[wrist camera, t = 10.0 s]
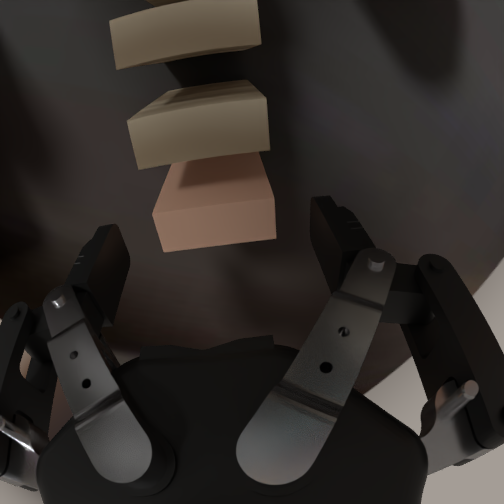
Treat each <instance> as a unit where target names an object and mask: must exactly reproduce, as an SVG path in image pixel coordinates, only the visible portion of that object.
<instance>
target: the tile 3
mask: <svg viewBox="0 0 504 504" xmlns="http://www.w3.org/2000/svg"><path fill="white" fill-rule="evenodd" d="M109 22H110V30H111V37H112V44H113V51H114V57H115V63H116V69H117V70H119V69H125V68H130V67H136V66H143V65H149V64H157V63H165V62H169V61H174V60H179V59H185V58H190V57H196V56H202V55H209V54H216V53H224V52H233V51H244V50H247V49H249V48H252V47H255V46H258V45H261V35H260V24H259V14H258V5H257V0H189V1H184V2H178V3H173V4H169V5H164V6H160V7H155V8H151V9H147V10H144V11H140V12H136V13H133V14H129V15H126V16H123V17H120V18H117V19H114V20H111V21H109Z"/></svg>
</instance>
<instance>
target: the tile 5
mask: <svg viewBox="0 0 504 504" xmlns="http://www.w3.org/2000/svg"><path fill="white" fill-rule="evenodd" d="M152 215H153V218H154V222H155V225H156V228H157V232H158V235H159V238H160V241H161V245H162V248H163V251H164V252H171V251H178V250H186V249H194V248H202V247H211V246H219V245H227V244H235V243H243V242H252V241H260V240H269V239H276V221H275V200H274V195H273V192H272V189H271V186H270V183H269V181H268V178H267V175H266V172H265V169H264V166H263V163H262V160H261V157H260V155H259V152H249V153H241V154H232V155H225V156H217V157H210V158H203V159H197V160H190V161H184V162H178V163H172V165H171V167H170V170H169V172H168V175H167V177H166V180H165V182H164V185H163V187H162V190H161V192H160V195H159V197H158V200H157V203H156V205H155V208H154V211H153V213H152Z"/></svg>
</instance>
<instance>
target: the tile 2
mask: <svg viewBox="0 0 504 504" xmlns="http://www.w3.org/2000/svg"><path fill="white" fill-rule="evenodd" d="M146 1H147V2H149V3H150V4H152V5H153V6H155V7H160V6H164V5H169V4H173V3H178V2H184V1H189V0H146Z"/></svg>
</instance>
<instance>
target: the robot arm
mask: <svg viewBox="0 0 504 504" xmlns="http://www.w3.org/2000/svg"><path fill="white" fill-rule="evenodd" d="M310 237H311V242H312V245H313V248H314V250H315V253H316V255H317V258H318V260H319V263H320V265H321V268H322V270H323V273H324V275H325V278H326V281H327V283H328V286H329V288H330V291H331V294H332V295H331V297H330V299H329V300H328V302H327V304H326V306H325V308H324V310H323V311H322V313H321V315H320V317H319V318H318V320H317V322H316V324H315V326H314V327H313V329H312V331H311V333H310V334H309V336H308V338H307V339H306V341H305V343H304V345H303V346H302V348H301V350H297V349H294V348H291V347H288V346H283V345H274V341H273V335H268V336H260V337H252V338H244V339H237V340H234V341H231V342H228V343H225V344H222V345H219V346H216V347H213V348H210V349H206V350H199V349H192V348H186V347H179V346H173V345H165V346H146V347H141V351H140V357H137V358H134V359H132V360H130V361H128V362H126V363H124V364H123V365H121V366H120V364H119V362H118V361H117V359H116V357H115V355H114V354H113V352H112V350H111V348H110V347H109V345H108V343H107V341H106V340H105V338H104V336H103V335H102V333H101V328H102V327H106V326H113V323H114V319H115V316H116V312H117V308H118V305H119V301H120V297H121V294H122V291H123V287H124V284H125V281H126V277H127V274H128V271H129V268H130V256H129V252H128V250H127V247H126V245H125V242H124V240H123V237H122V235H121V232H120V230H119V227H118V226H117V225H116V224H110V225H105V226H100V227H98V229H97V231H96V233H95V235H94V236H93V238H92V239H91V240H90V241H89V242H88V243H87V244H86V245H85V246H84V247H83V248H82V250H81V252H80V254H79V256H78V258H77V260H76V262H75V264H74V266H73V268H72V270H71V272H70V274H69V276H68V278H67V280H66V282H65V284H64V285H63V286H59V287H57V288H55V289H54V290H52V291H51V292H50V293H49V294H48V295H47V297H46V298H45V300H44V303H43V306H41V307H38V308H36V309H33V310H30V308H29V307H28V305H27V304H26V303H25V302H18V303H16V304H14V305H13V306H11V307H10V308H9V309H8V311H7V312H6V313H5V315H4V318H3V320H2V322H1V325H0V480H2V481H4V482H7V483H9V484H12V485H14V486H20V487H22V488H24V489H27V490H30V491H37V490H39V491H40V494H41V497H42V500H43V503H44V504H421V498H422V493H423V489H424V485H425V482H426V478H427V475H429V474H432V473H434V472H437V471H439V470H442V469H444V468H446V467H448V466H451V465H454V466H460V465H463V464H466V463H467V462H470V461H472V460H474V459H476V458H478V457H480V456H482V455H484V454H486V453H488V452H489V451H491V450H493V449H495V448H497V447H498V446H500V445H502V444H503V443H504V354H503V352H502V350H501V348H500V346H499V344H498V342H497V340H496V338H495V336H494V334H493V332H492V330H491V328H490V326H489V325H488V323H487V321H486V319H485V317H484V316H483V314H482V312H481V310H480V309H479V307H478V305H477V304H476V302H475V300H474V299H473V297H472V295H471V294H470V292H469V290H468V289H467V287H466V286H465V284H464V283H463V281H462V279H461V278H460V276H459V275H458V273H457V272H456V270H455V269H454V267H453V266H452V265H451V263H450V262H449V261H448V260H446V259H445V258H443V257H441V256H439V255H435V254H426V255H423V256H422V257H421V258H420V259H419V261H418V264H417V265H408V264H400V263H396V261H395V259H394V257H393V256H392V255H391V254H390V253H388V252H386V251H384V250H382V249H378V248H376V247H375V245H374V244H373V242H372V240H371V239H370V237H369V236H368V234H367V233H366V231H365V230H364V228H362V225H361V224H360V222H358V219H357V218H356V216H355V215H354V213H353V212H351V211H350V210H348V209H347V208H345V207H344V206H342V207H337V205H336V204H335V202H334V201H333V199H332V197H331V196H320V197H312V198H311V207H310ZM378 322H385V323H399V324H400V326H401V328H402V331H403V333H404V336H405V338H406V341H407V343H408V346H409V348H410V351H411V354H412V356H413V359H414V362H415V364H416V366H417V370H418V373H419V376H420V378H421V381H422V384H423V387H424V390H425V393H426V396H427V399H428V401H427V402H426V404H425V405H424V407H423V408H422V412H421V433H420V435H419V436H418V435H417V434H416V433H415V432H414V431H413V430H412V429H411V428H409V427H408V426H406V425H405V424H403V423H402V422H401V421H399V420H398V419H396V418H395V417H393V416H392V415H390V414H389V413H387V412H386V411H385V410H383V409H382V408H380V407H379V406H378V405H376V404H375V403H373V402H372V401H371V400H369V399H368V398H367V397H365V396H364V395H362V394H361V393H360V392H358V391H357V390H355V389H354V388H353V385H354V382H355V380H356V378H357V376H358V373H359V371H360V369H361V366H362V364H363V361H364V359H365V356H366V354H367V351H368V349H369V346H370V344H371V341H372V339H373V336H374V333H375V331H376V328H377V325H378ZM24 349H25V350H26V352H27V353H28V354H29V355H30V356H31V361H30V364H29V368H28V371H27V375H26V379H25V378H24V377H23V376H22V375H21V372H20V362H21V358H22V355H23V352H24ZM57 377H58V378H59V381H60V384H61V386H62V389H63V391H64V394H65V396H66V399H67V401H68V404H69V406H70V408H71V411H72V413H73V416H72V418H71V419H70V420H69V421H68V422H67V423H66V424H65V425H64V427H62V429H61V430H60V431H59V432H58V433H57V434H56V435H55V437H54V438H53V439H52V440H51V441H49V437H48V430H49V423H50V416H51V410H52V404H53V398H54V392H55V387H56V382H57Z"/></svg>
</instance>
